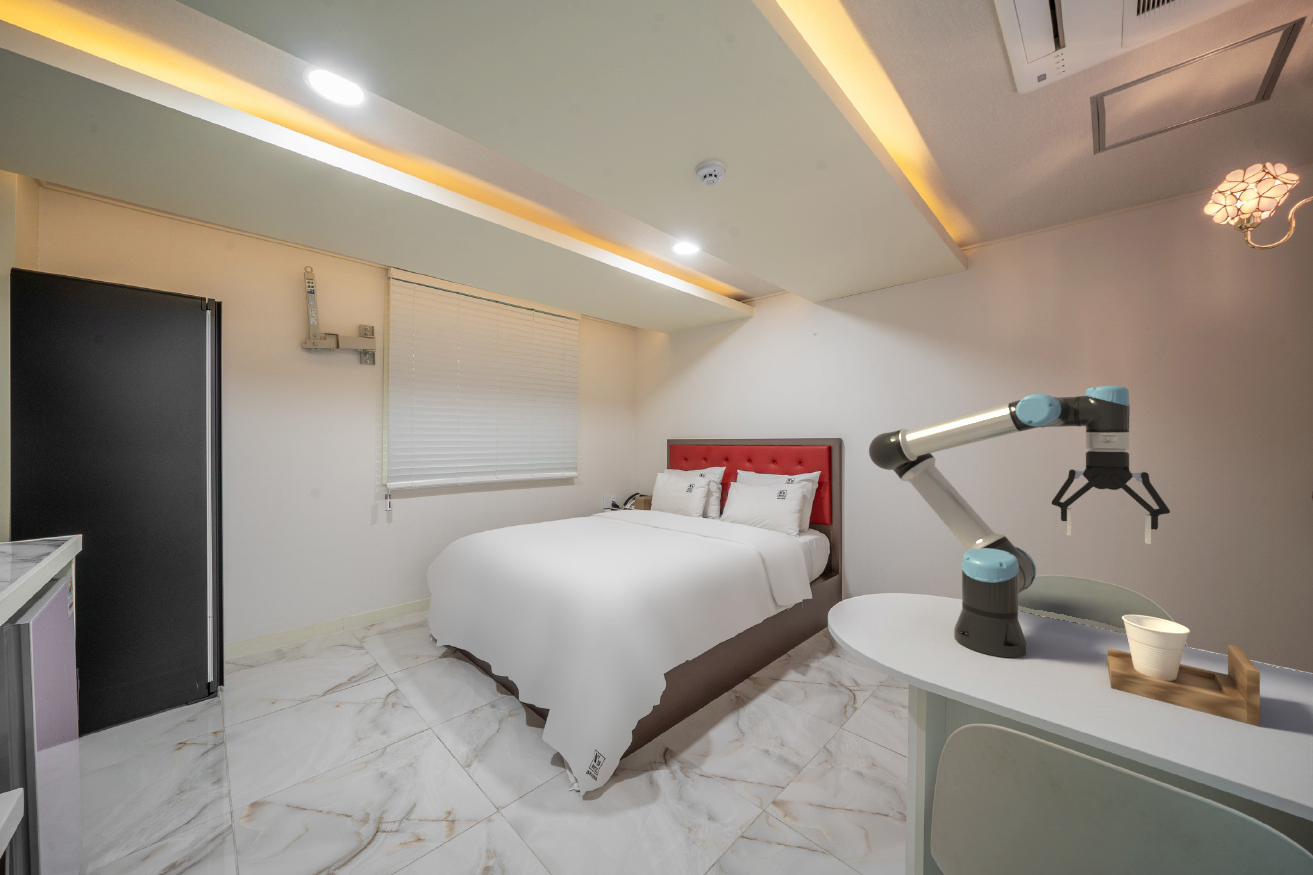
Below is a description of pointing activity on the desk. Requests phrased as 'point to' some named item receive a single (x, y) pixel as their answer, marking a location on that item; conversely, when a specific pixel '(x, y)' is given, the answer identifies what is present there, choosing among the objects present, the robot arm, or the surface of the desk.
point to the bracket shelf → (1196, 686)
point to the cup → (1155, 645)
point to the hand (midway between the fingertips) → (1106, 538)
